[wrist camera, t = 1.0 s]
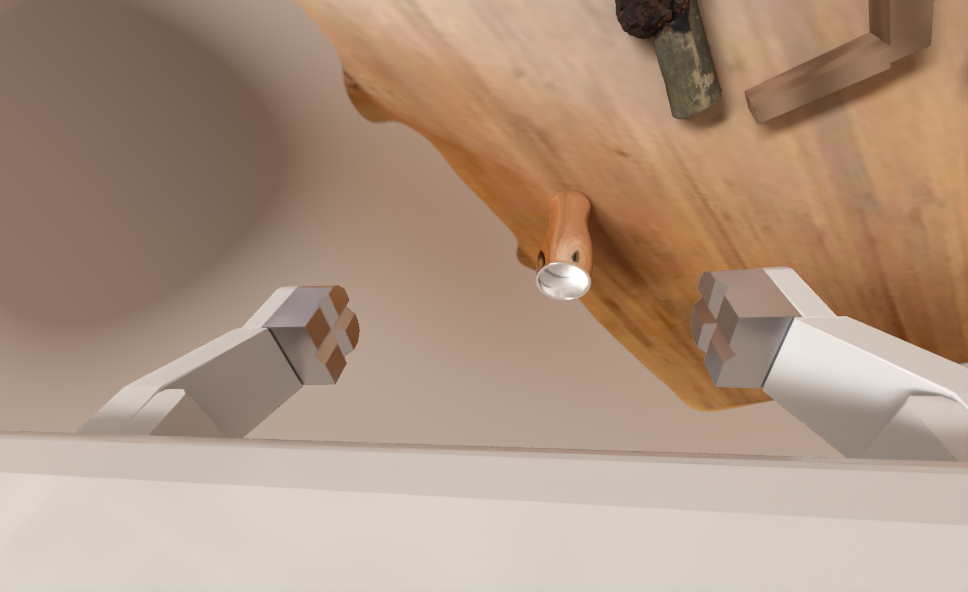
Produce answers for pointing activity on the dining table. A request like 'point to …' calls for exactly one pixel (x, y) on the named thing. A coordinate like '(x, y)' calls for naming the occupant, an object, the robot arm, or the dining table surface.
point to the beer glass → (566, 248)
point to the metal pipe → (675, 50)
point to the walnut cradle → (848, 59)
